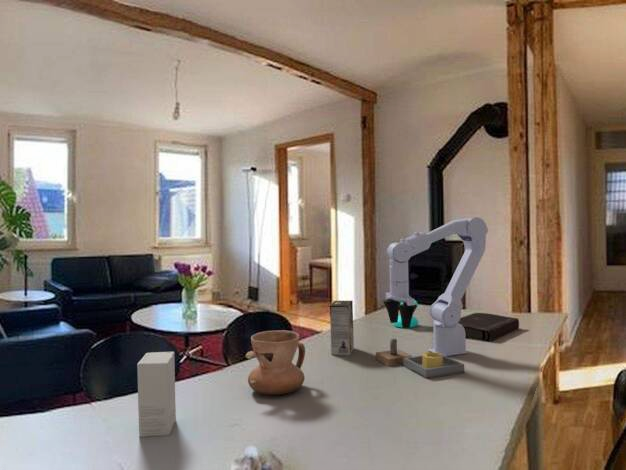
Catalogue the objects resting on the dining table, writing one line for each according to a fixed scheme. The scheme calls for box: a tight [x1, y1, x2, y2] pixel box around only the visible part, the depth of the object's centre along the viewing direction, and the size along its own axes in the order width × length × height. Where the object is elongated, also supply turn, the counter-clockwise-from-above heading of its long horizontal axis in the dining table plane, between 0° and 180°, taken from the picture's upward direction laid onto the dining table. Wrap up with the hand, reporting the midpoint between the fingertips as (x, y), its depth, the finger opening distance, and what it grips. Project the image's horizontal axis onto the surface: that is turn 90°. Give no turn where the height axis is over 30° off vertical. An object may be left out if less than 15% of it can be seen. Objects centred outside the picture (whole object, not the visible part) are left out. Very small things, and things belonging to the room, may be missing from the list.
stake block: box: [375, 338, 413, 367], centre depth 151 cm, size 8×8×6 cm
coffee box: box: [329, 300, 355, 356], centre depth 163 cm, size 9×6×16 cm
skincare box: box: [136, 351, 177, 438], centre depth 107 cm, size 8×7×16 cm
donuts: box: [392, 299, 419, 329], centre depth 198 cm, size 10×10×10 cm
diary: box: [458, 312, 520, 343], centre depth 185 cm, size 19×25×5 cm
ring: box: [421, 351, 443, 369], centre depth 142 cm, size 5×5×4 cm
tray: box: [402, 355, 465, 379], centre depth 142 cm, size 12×12×2 cm
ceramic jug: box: [245, 329, 306, 396], centre depth 129 cm, size 18×14×14 cm
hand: (399, 325), depth 155 cm, fingers open, 7 cm apart
